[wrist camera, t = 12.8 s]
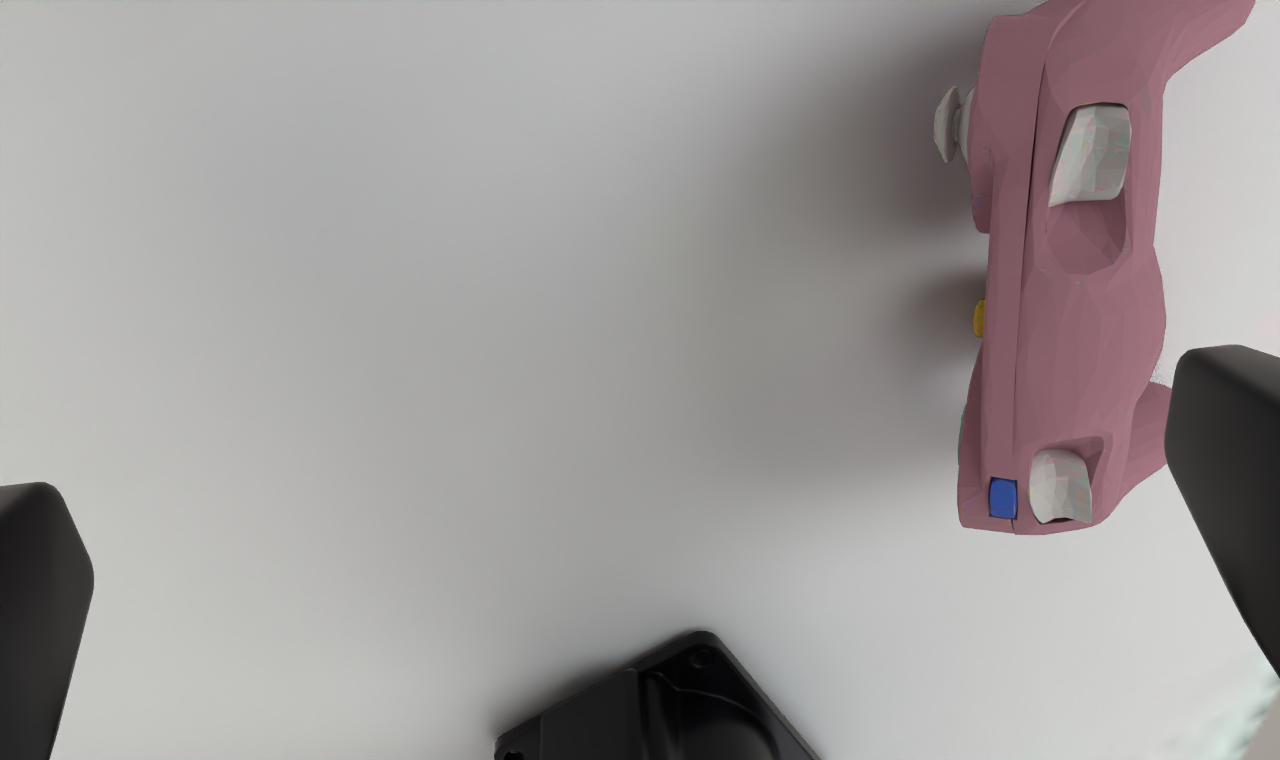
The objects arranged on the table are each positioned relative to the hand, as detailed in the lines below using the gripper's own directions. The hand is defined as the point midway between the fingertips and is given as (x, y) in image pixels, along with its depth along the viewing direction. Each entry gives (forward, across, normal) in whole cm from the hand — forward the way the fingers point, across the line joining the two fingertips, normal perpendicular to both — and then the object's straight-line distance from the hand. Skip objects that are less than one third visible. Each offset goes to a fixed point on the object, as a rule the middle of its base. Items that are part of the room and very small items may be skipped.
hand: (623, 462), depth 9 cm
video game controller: (+13, -8, +4) cm, 16 cm away
